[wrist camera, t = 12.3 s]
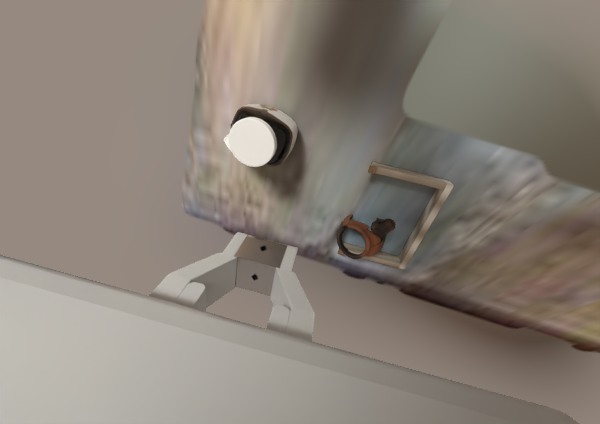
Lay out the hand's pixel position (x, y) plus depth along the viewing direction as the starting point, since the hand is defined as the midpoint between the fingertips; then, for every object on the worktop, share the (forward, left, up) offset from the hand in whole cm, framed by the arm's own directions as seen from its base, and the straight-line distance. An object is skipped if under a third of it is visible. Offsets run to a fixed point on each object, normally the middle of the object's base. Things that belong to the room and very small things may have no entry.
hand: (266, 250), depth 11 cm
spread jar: (+4, -10, -35) cm, 37 cm away
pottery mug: (+18, +14, -35) cm, 42 cm away
